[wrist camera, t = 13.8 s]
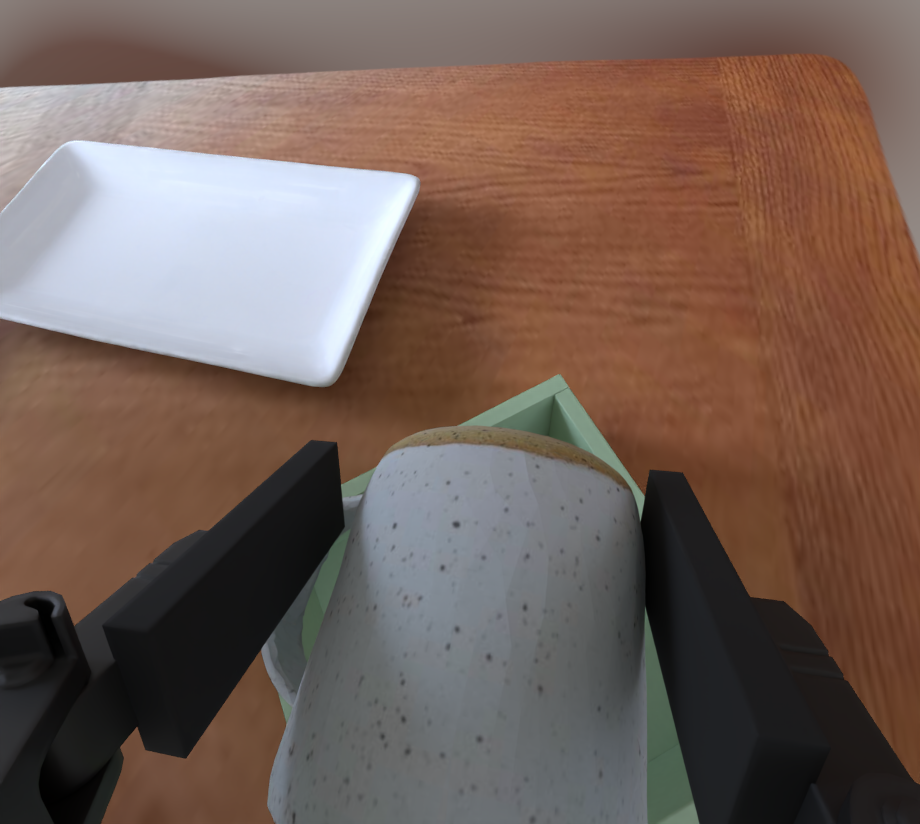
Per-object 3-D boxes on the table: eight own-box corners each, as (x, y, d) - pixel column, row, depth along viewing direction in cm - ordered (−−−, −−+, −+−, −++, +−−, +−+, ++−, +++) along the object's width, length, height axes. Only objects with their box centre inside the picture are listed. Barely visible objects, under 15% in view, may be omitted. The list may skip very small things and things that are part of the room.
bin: (294, 555, 26) (235, 538, 20) (552, 421, 27) (560, 373, 22) (412, 923, 19) (371, 1039, 14) (747, 721, 20) (825, 756, 15)
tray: (96, 169, 41) (60, 132, 38) (433, 210, 35) (424, 169, 32) (-28, 328, 35) (-82, 300, 32) (352, 415, 29) (331, 389, 25)
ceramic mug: (618, 510, 16) (692, 420, 9) (608, 815, 13) (711, 1052, 6) (323, 472, 18) (191, 373, 11) (250, 727, 14) (-6, 823, 7)
